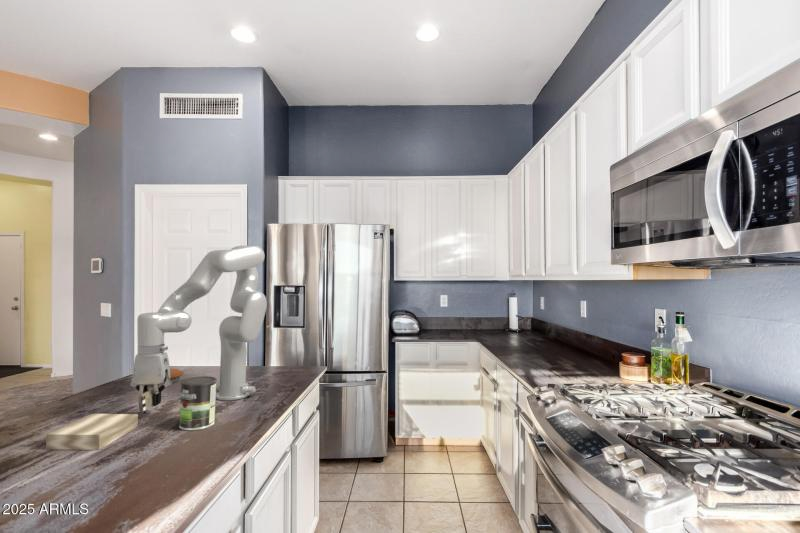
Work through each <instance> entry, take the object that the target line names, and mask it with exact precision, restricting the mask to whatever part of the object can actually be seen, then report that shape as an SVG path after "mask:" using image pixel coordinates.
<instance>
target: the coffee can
mask: <svg viewBox="0 0 800 533" xmlns="http://www.w3.org/2000/svg"><path fill="white" fill-rule="evenodd" d="M217 381H218V379H217V377H214V376H210V375H209V376H193V377H188V378H185V379H183V380H181V381H180V404H179V422H178V423H179V425H178V428H179V429H180V430H181V431H199V430H204V429H207V428H210V427H211V426H213V425H214V424H215V423H216V422H215V418H216V417H215V416H216V415H215V414H216V400H217V399H216V393H217Z"/></svg>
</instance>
